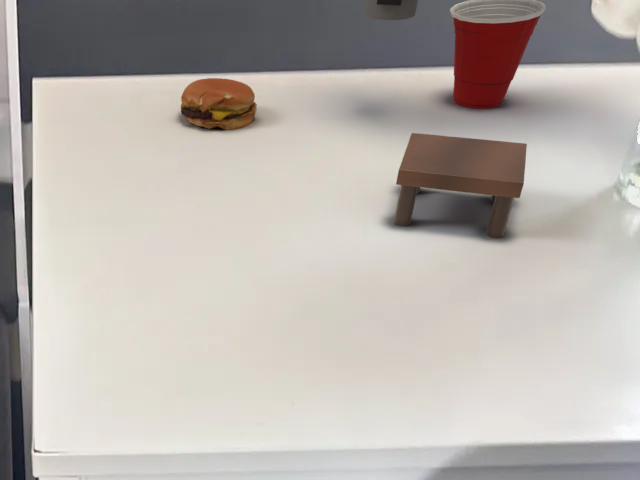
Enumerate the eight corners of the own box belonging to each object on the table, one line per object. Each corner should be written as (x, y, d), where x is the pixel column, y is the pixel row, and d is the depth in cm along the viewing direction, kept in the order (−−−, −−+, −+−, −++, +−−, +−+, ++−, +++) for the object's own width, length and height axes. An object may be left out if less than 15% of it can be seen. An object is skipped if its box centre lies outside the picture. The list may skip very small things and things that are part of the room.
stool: (511, 200, 99) (527, 143, 95) (507, 243, 91) (523, 183, 87) (400, 188, 102) (411, 132, 99) (387, 228, 94) (398, 169, 91)
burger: (223, 103, 127) (226, 67, 125) (269, 122, 121) (273, 85, 118) (163, 118, 124) (164, 81, 121) (207, 138, 117) (209, 100, 114)
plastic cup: (421, 92, 128) (440, -4, 121) (502, 90, 128) (526, -7, 120) (445, 118, 120) (467, 16, 112) (533, 116, 119) (561, 13, 112)
